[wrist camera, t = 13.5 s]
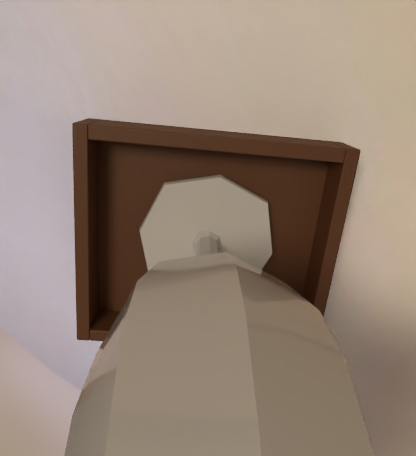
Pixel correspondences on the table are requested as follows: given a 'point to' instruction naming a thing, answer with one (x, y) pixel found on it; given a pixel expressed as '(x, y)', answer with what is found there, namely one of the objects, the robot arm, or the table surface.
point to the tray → (194, 168)
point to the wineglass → (216, 346)
